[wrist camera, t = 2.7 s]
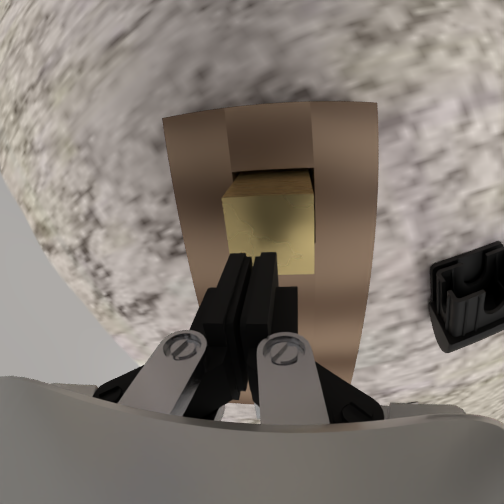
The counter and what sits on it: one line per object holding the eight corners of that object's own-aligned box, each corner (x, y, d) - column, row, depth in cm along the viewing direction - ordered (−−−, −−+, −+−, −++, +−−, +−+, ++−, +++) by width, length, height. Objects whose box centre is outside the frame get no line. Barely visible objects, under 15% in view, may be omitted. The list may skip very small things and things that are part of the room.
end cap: (426, 320, 27) (446, 366, 21) (424, 265, 24) (453, 311, 18) (498, 292, 24) (526, 331, 18) (503, 238, 21) (540, 273, 15)
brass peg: (241, 170, 18) (221, 198, 13) (307, 167, 17) (313, 193, 12) (248, 230, 19) (232, 275, 15) (309, 228, 19) (314, 274, 14)
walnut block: (194, 113, 20) (162, 118, 15) (355, 103, 18) (377, 102, 13) (235, 360, 32) (226, 402, 27) (341, 360, 30) (345, 403, 25)
